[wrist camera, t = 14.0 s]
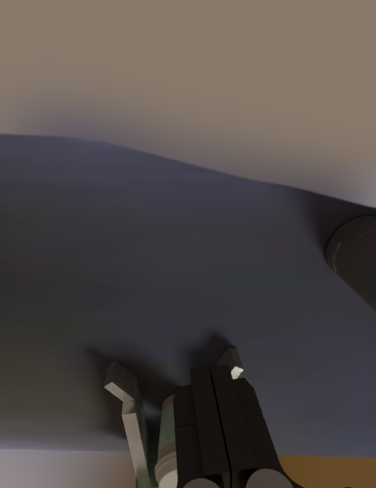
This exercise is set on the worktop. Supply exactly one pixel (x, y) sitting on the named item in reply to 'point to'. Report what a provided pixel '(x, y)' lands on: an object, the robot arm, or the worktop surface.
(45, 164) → the worktop surface
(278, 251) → the worktop surface
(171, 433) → the coffee cup
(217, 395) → the robot arm
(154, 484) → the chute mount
